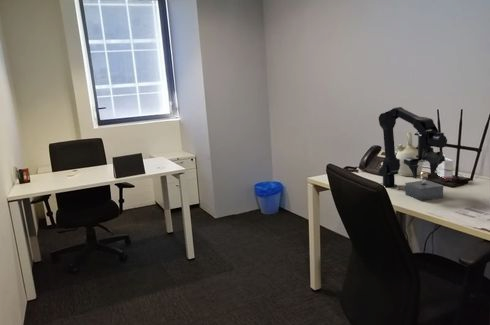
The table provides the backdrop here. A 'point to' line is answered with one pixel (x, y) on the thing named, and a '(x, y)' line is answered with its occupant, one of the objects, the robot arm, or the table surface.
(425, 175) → the plunger
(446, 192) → the table surface
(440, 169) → the ink cartridge box
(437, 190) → the block
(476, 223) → the table surface
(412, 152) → the jug
